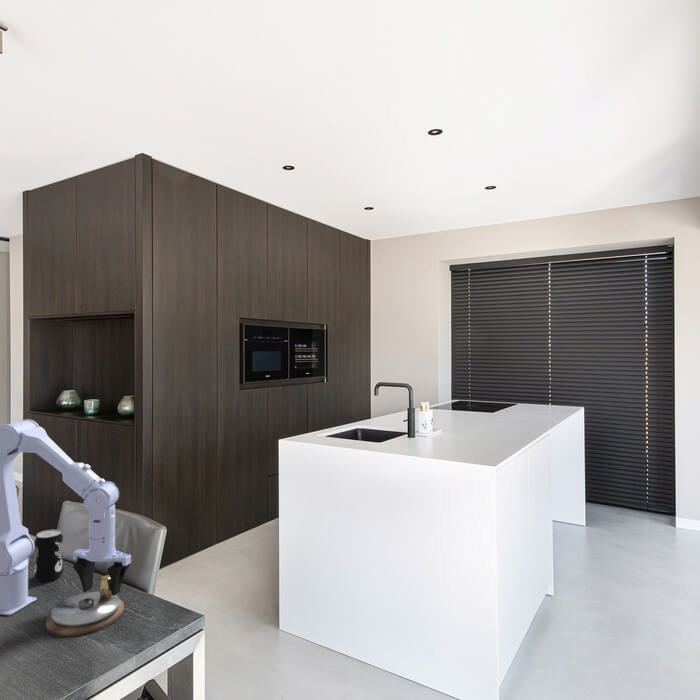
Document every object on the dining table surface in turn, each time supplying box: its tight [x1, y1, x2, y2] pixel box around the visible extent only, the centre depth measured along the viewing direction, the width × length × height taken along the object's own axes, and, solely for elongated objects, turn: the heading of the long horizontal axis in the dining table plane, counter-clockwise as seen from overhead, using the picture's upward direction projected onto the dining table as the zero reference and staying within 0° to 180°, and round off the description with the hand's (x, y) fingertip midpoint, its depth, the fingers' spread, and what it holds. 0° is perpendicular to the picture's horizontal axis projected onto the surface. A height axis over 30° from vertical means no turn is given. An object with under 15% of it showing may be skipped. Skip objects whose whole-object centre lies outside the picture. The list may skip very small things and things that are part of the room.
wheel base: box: [45, 598, 125, 637], centre depth 121 cm, size 16×18×4 cm
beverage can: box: [33, 529, 64, 583], centre depth 140 cm, size 7×7×12 cm
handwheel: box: [50, 574, 120, 628], centre depth 120 cm, size 14×14×6 cm
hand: (101, 591), depth 125 cm, fingers open, 7 cm apart
